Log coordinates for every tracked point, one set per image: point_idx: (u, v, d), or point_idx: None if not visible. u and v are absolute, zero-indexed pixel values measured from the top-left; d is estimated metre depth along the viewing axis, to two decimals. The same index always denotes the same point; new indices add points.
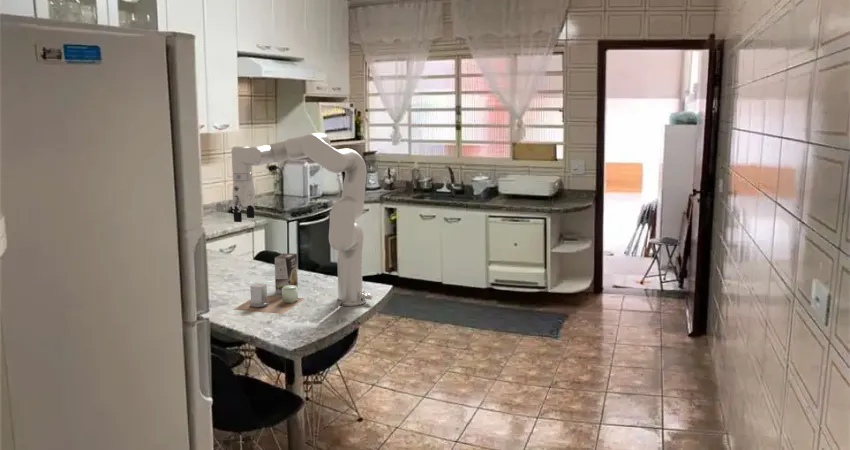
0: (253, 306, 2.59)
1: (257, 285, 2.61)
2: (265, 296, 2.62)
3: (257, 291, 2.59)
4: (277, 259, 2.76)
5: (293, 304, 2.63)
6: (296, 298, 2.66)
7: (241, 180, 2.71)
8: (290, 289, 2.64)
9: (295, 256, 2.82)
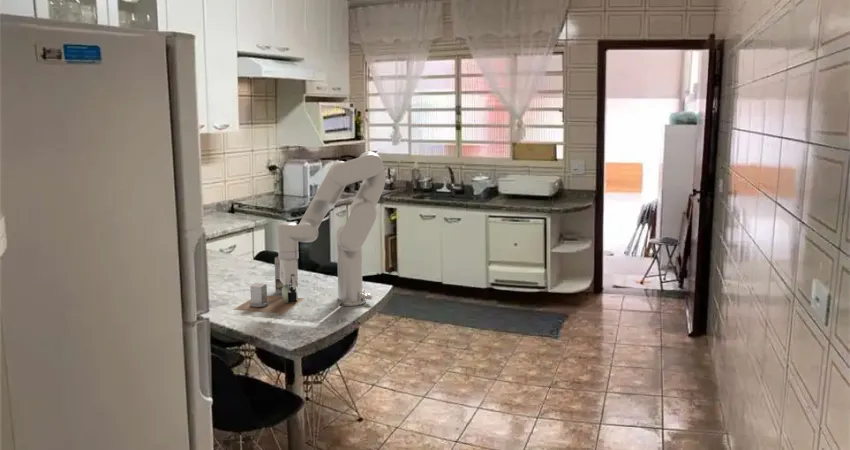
0: (253, 306, 2.59)
1: (257, 285, 2.61)
2: (265, 296, 2.62)
3: (257, 291, 2.59)
4: (277, 259, 2.76)
5: (293, 304, 2.63)
6: None
7: None
8: None
9: None
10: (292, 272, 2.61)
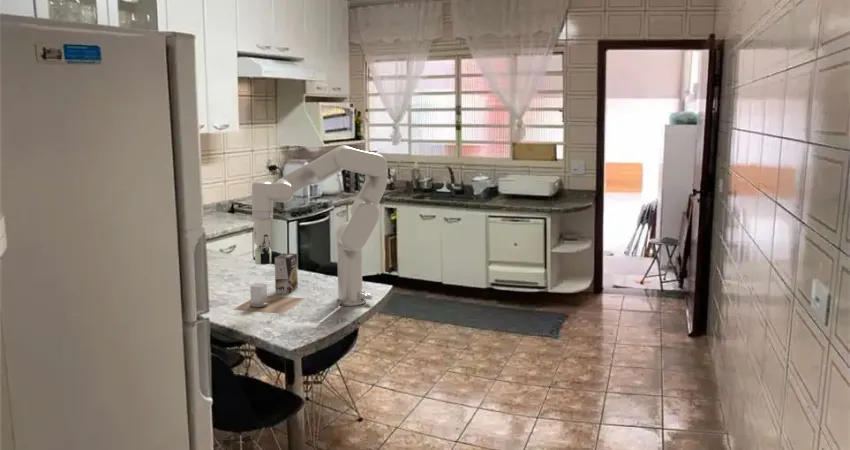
0: (253, 306, 2.59)
1: (257, 285, 2.61)
2: (265, 296, 2.62)
3: (257, 291, 2.59)
4: (277, 259, 2.76)
5: (293, 304, 2.63)
6: None
7: None
8: None
9: (295, 256, 2.82)
10: (265, 232, 2.54)
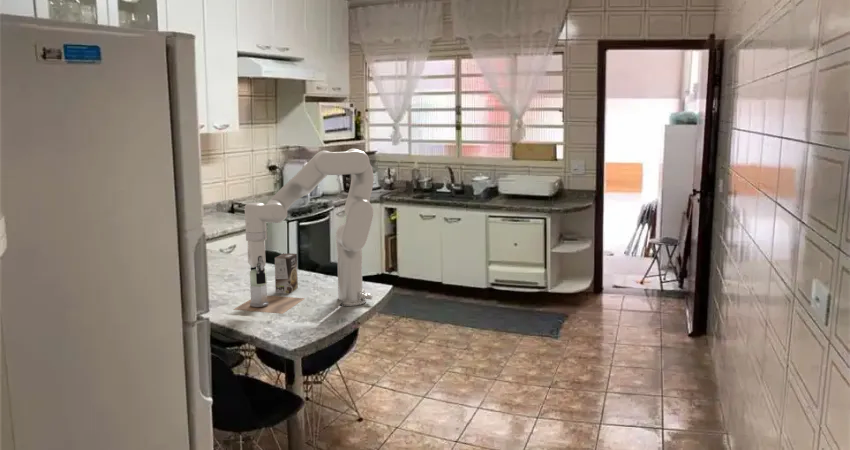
0: (253, 306, 2.59)
1: None
2: (265, 296, 2.62)
3: (257, 291, 2.59)
4: (277, 259, 2.76)
5: (293, 304, 2.63)
6: None
7: None
8: None
9: (295, 256, 2.82)
10: (259, 254, 2.54)
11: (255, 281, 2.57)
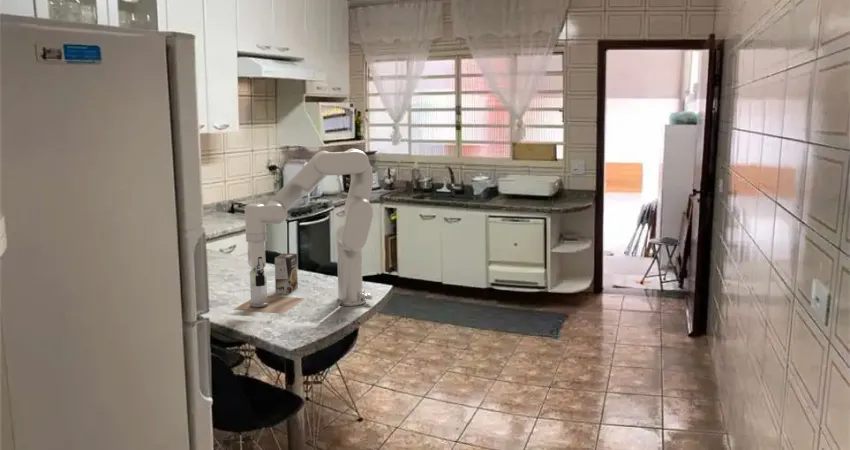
0: (253, 306, 2.59)
1: None
2: (265, 296, 2.62)
3: (257, 291, 2.59)
4: (277, 259, 2.76)
5: (293, 304, 2.63)
6: None
7: None
8: None
9: (295, 256, 2.82)
10: (259, 255, 2.54)
11: (255, 281, 2.57)
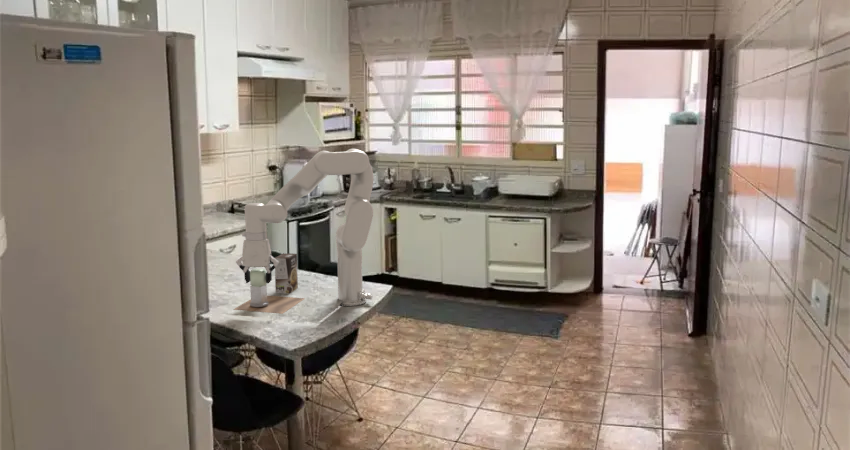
0: (253, 306, 2.59)
1: None
2: (265, 296, 2.62)
3: (257, 291, 2.59)
4: (277, 259, 2.76)
5: (293, 304, 2.63)
6: None
7: (246, 238, 2.56)
8: (264, 271, 2.59)
9: (295, 256, 2.82)
10: (270, 251, 2.58)
11: (263, 280, 2.59)
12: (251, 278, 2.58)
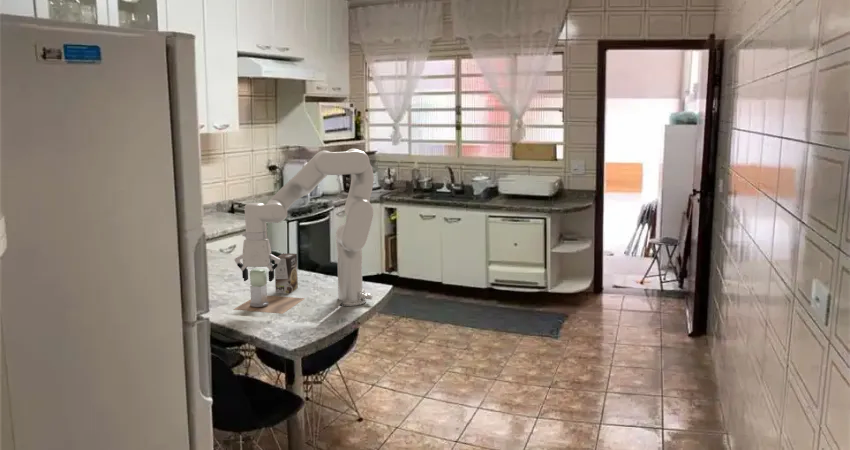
0: (253, 306, 2.59)
1: None
2: (265, 296, 2.62)
3: (257, 291, 2.59)
4: None
5: (293, 304, 2.63)
6: None
7: (246, 238, 2.56)
8: None
9: (295, 256, 2.82)
10: (270, 251, 2.58)
11: None
12: (258, 279, 2.57)
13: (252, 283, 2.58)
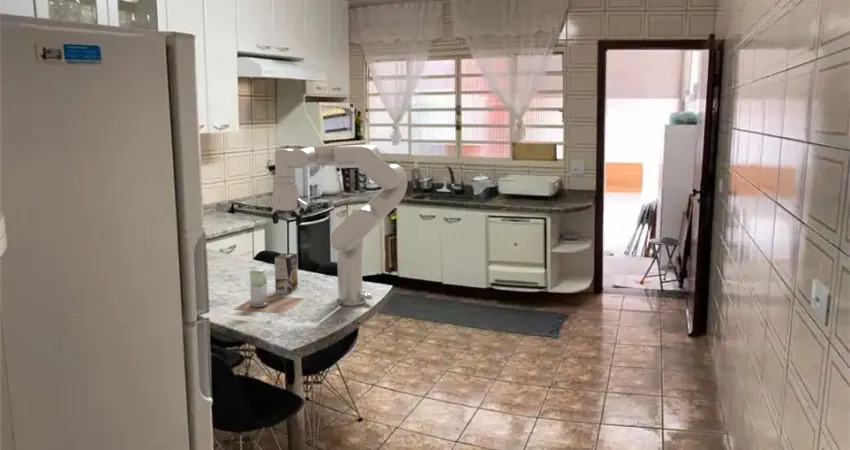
0: (253, 306, 2.59)
1: None
2: (265, 296, 2.62)
3: (257, 291, 2.59)
4: (277, 259, 2.76)
5: (293, 304, 2.63)
6: None
7: None
8: None
9: (295, 256, 2.82)
10: (298, 196, 2.68)
11: None
12: (258, 279, 2.57)
13: (252, 283, 2.58)
